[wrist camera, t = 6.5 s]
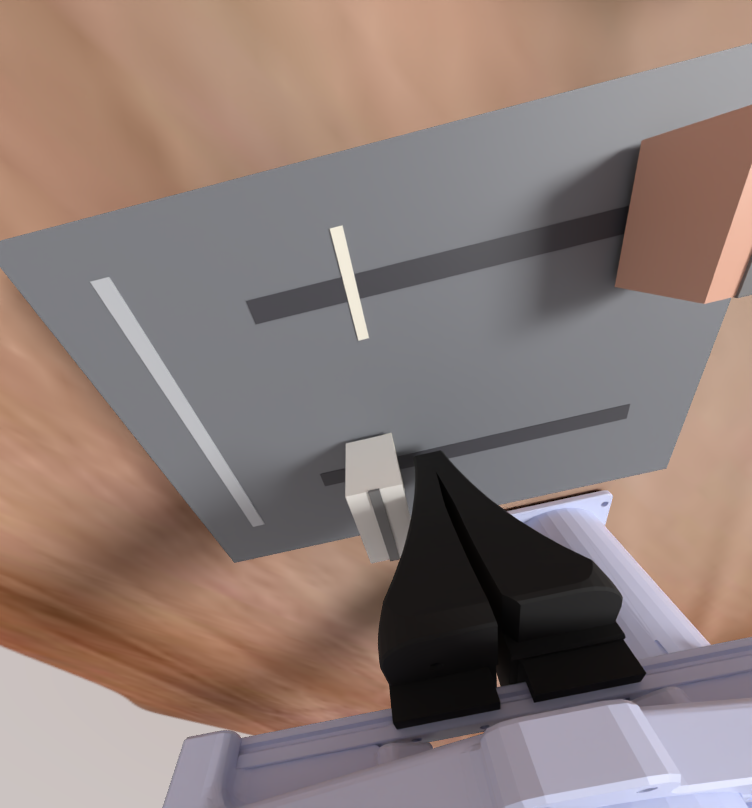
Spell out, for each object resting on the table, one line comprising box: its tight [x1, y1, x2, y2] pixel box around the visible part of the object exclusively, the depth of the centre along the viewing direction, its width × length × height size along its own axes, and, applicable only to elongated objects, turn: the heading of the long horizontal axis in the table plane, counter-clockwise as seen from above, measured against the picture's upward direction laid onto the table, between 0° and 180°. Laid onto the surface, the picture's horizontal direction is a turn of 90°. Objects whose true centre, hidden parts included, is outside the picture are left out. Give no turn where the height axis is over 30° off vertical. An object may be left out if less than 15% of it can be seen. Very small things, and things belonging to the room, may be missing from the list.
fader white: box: [345, 433, 411, 563], centre depth 12 cm, size 4×2×3 cm, turn 12°
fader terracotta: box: [615, 105, 752, 304], centre depth 8 cm, size 4×2×3 cm, turn 12°
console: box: [0, 43, 752, 563], centre depth 13 cm, size 16×24×3 cm, turn 102°
